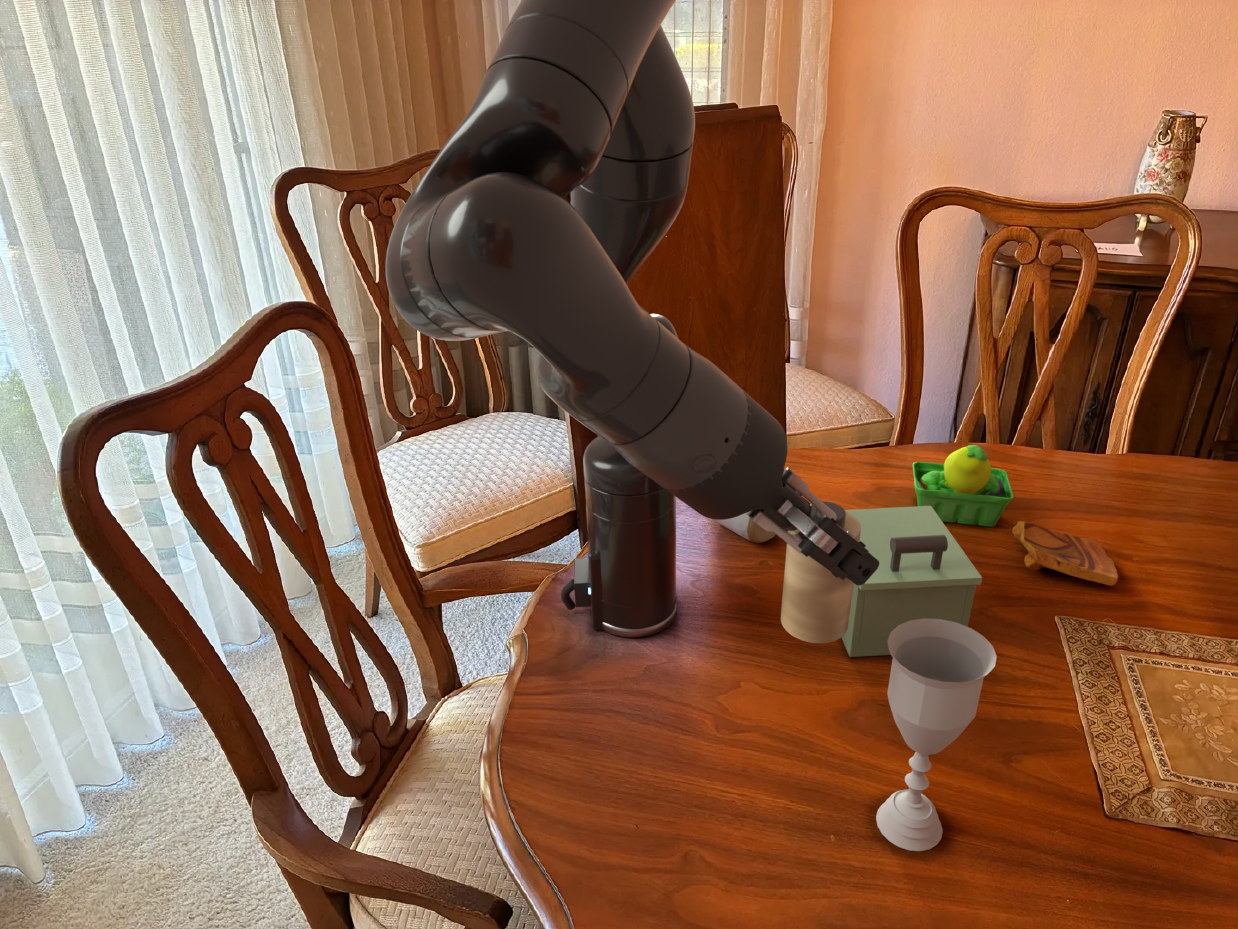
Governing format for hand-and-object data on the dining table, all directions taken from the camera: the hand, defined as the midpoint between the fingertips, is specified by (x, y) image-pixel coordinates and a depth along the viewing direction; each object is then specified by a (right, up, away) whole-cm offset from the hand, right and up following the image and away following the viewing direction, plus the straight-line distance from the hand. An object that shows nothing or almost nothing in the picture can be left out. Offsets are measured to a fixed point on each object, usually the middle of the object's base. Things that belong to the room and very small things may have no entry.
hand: (843, 551), depth 60 cm
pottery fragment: (+36, -6, +39) cm, 53 cm away
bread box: (+13, -10, +32) cm, 36 cm away
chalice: (+7, -23, +9) cm, 26 cm away
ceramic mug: (+1, -2, +48) cm, 48 cm away
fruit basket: (+27, -1, +49) cm, 56 cm away
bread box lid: (+13, -2, +27) cm, 30 cm away
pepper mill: (-2, -5, +2) cm, 6 cm away
